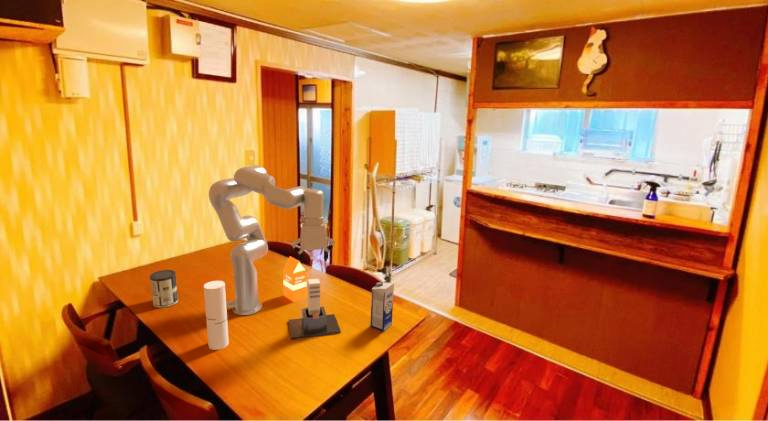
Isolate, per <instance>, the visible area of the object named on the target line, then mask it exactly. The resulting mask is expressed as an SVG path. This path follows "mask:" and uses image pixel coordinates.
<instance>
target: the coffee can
mask: <svg viewBox="0 0 768 421" xmlns="http://www.w3.org/2000/svg"><path fill="white" fill-rule="evenodd" d="M149 281H150V287H151V288H150V291H151V295H152V296H151V297H152V305H153V307H155V308H159V309H160V308H167V307H171V306H174V305H175V304H177V303H178V302H179V297H178V296H179V295H178V286H177V285H178V284H177V276H176V271H175V270H172V269H163V270H158V271H154V272H152V273H151V274H150V275H149Z"/></svg>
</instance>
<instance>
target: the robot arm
mask: <svg viewBox="0 0 768 421" xmlns="http://www.w3.org/2000/svg"><path fill="white" fill-rule="evenodd" d="M251 192H253V193H257V194H260V195H263V198H264V200H266V201H267V202H268V203H269V204H270V205H272V206H276V207H278V208H282V209H284V210H285V209H286V210H291V209H294V208H297V207H300V206H303V217H302V218H299V222H300V223H302V225H301V228H300V229H301V230H300V237H298V239H297V238H296V239H295V240H294V241H292V242H291V244H290V245H291V247H292V248H293V250H294V251H295V252H296V253H297V254H298V261H299V262H300V263H301V264H302V265H303V264H304V260H303V259H304V258H303V256H304V255H303V252H304V251H318V250H323V260H324V262H325V263H327V262H328V259H329V253H330V251H331V250H332V249H333V246H334V245H335V243H336V240H335V239H332V238H330V237H329V236H327V226H326V223H325V222H324V198H325V197H324V192H323V190H321V189H315V188H309V187H306V186H302V185H300V186H295V187H290V188H287V189H284V188H281V187H280V186H279V187H278V186H276V180H275V177H274V176H273V175H270V174H268V172H267V170H266V169H265V168H264V167H263V166H260V165H250V166H245V167H244V166H243V167H240V168H239V169H237V170H236V171H235V172H234V174H233V177H231V178H230V177H229V178H225V179H221V180H218V181H215V182H213V184H212V185H211V186H210V187H209V189H208V198H209V202H210V204H211V205H212V207H213V209H214V211H215V213H216V215H217V217H218V220H219V221H220V225H221V226H222V229H223V231H224V233H225V236H226V238H227V239H228V241H230V242H239V241H241V240H243V239H246V240H245V241H243V242H241V243H238V244H237V245H235V246H233V248H232V249H231V251H230V259H231V263H232V268H233V275H234V276H233V277H234V293H235V297H234V299H233V300H232V301H226V307H227V308H228V309H229V308H232V312H233V313H234V314H235V315H239V316H251V315H253V314H257V313H258V312H260V311H261V309H262V307H263V304H262V303H261V301H259V291H258V290H259V289H258V271H257V268H256V267H255V265H254V262H255V261H257V260H259V259H261V258H263V257H265V256H266V255H267V254H268V252H269V245H268V242H267V239H266V237H265V234H264V232H263V228H262V227H261V225H260V222H259V221H258V220H257V218H255V217H254V216H252V215H244V216H241V213H240V212H239V209H238V207H237V206H236V205H235V204H234V203H233V202H232V201H231V200H230V199H234V198H239V197H244V196H246V195H248V194H250V193H251ZM328 243H330V244H329V245H328ZM298 244H300V247H298V246H297V245H298Z"/></svg>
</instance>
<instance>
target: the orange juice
mask: <svg viewBox="0 0 768 421" xmlns="http://www.w3.org/2000/svg"><path fill="white" fill-rule="evenodd" d="M282 272H283V274H282V275H283V276H282V278H283V282H282V284H283V297H285V298H286V299H288V300H290V301H291V302H292V303H295V302H297V301H300V300H304V299H308V280H307V269H305V267H304V265H303V263H302V264H301V262H300V261H299V259H296V258H294V257H292V256H290V255H289V257H288V259H287V261H286V263H285V264H284V266H283V269H282Z"/></svg>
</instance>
